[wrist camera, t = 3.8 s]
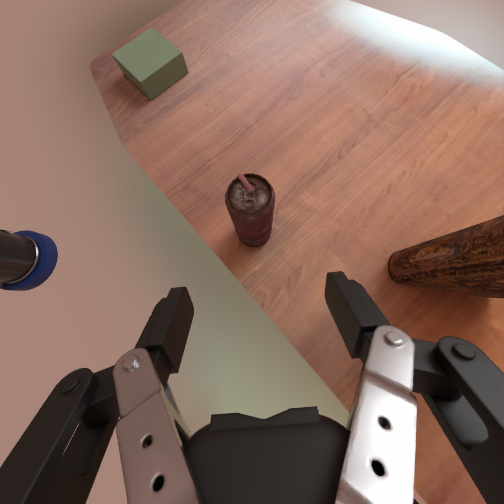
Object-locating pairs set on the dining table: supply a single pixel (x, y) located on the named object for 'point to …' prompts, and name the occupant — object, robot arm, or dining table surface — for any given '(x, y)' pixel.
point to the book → (456, 261)
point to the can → (251, 208)
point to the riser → (151, 63)
